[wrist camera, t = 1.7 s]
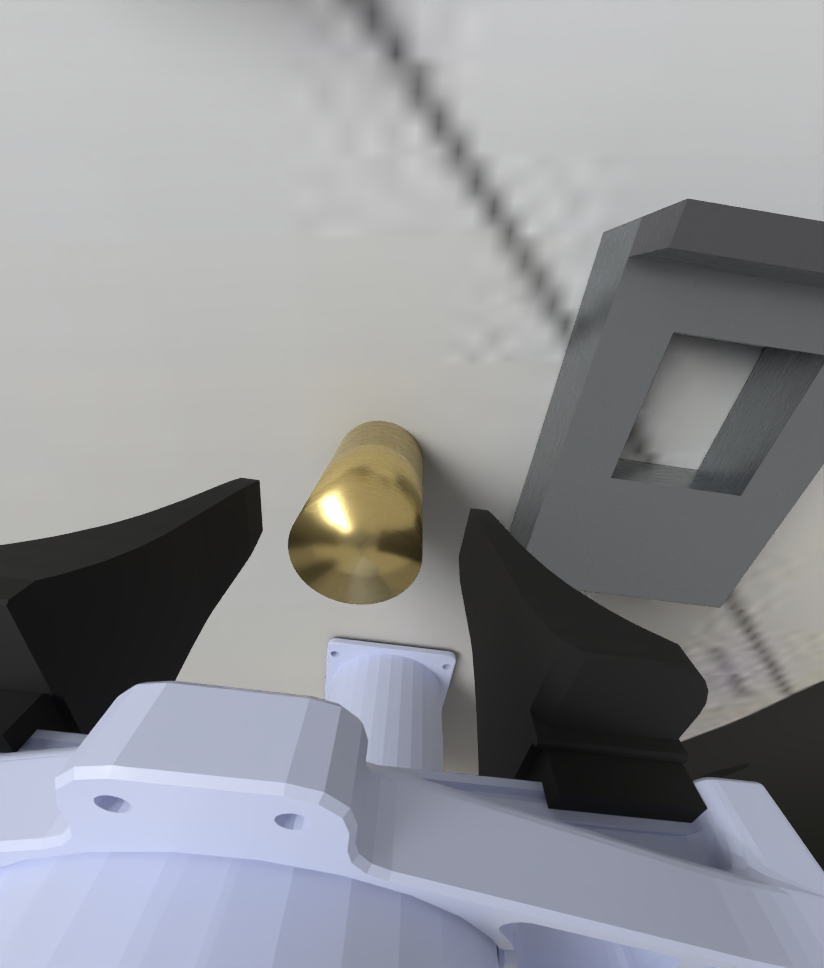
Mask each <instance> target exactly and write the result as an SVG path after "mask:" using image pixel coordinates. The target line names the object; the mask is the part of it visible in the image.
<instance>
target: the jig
mask: <svg viewBox="0 0 824 968" xmlns="http://www.w3.org/2000/svg"><path fill="white" fill-rule="evenodd" d="M673 334H680V335H686V336H693V337H699V338H706V339H712V340H719V341H725V342H731V343H738V344H744V345H751V346H757V347H764V348H765V349H764V351H763V353H762V355H761V357H760V359H759V360H758V362H757V364H756V366H755V368H754V369H753V371H752V373H751V375H750V377H749V379H748V380H747V382H746V384H745V386H744V388H743V389H742V391H741V393H740V395H739V397H738V399H737V400H736V402H735V404H734V406H733V408H732V409H731V411H730V413H729V415H728V417H727V419H726V420H725V422H724V424H723V426H722V428H721V429H720V431H719V433H718V435H717V437H716V439H715V440H714V442H713V444H712V446H711V448H710V449H709V451H708V453H707V455H706V457H705V459H704V460H703V462H702V464H701V466H700V468H699V469H698V470H693V469H686V468H679V467H672V466H665V465H657V464H650V463H643V462H636V461H629V460H622V459H619V457H620V455H621V453H622V450H623V448H624V446H625V444H626V441H627V439H628V437H629V434H630V432H631V430H632V427H633V425H634V423H635V420H636V418H637V416H638V414H639V411H640V409H641V407H642V404H643V402H644V400H645V397H646V395H647V393H648V390H649V388H650V386H651V383H652V381H653V379H654V377H655V374H656V372H657V370H658V367H659V365H660V363H661V360H662V358H663V356H664V353H665V351H666V349H667V346H668V344H669V342H670V340H671V337H672V335H673ZM823 464H824V222H823V221H817V220H811V219H805V218H799V217H793V216H787V215H781V214H775V213H769V212H763V211H758V210H752V209H746V208H740V207H734V206H728V205H722V204H716V203H710V202H704V201H699V200H693V199H686V200H683V201H681V202H678V203H676V204H673V205H671V206H668V207H666V208H663V209H661V210H658V211H656V212H653V213H651V214H648V215H646V216H643V217H641V218H638V219H636V220H633V221H631V222H628V223H626V224H623V225H621V226H618V227H616V228H613V229H611V230H608V231H606V232H604V233H603V236H602V239H601V243H600V246H599V249H598V252H597V255H596V259H595V262H594V265H593V268H592V271H591V274H590V278H589V281H588V284H587V287H586V290H585V294H584V297H583V300H582V303H581V306H580V310H579V313H578V316H577V319H576V322H575V325H574V329H573V332H572V335H571V338H570V341H569V345H568V348H567V351H566V354H565V357H564V360H563V364H562V367H561V370H560V373H559V376H558V380H557V383H556V386H555V389H554V392H553V395H552V399H551V402H550V405H549V408H548V411H547V415H546V418H545V421H544V424H543V427H542V431H541V434H540V437H539V440H538V443H537V446H536V450H535V453H534V456H533V459H532V462H531V466H530V469H529V472H528V475H527V478H526V481H525V485H524V488H523V491H522V494H521V497H520V501H519V504H518V507H517V510H516V513H515V516H514V520H513V523H512V526H511V529H510V532H509V533H510V534H511V535H512V536H513V537H514V538H515V539H516V540H517V541H518V542H519V543H520V544H521V545H522V546H523V547H524V548H525V549H526V550H527V551H528V552H529V553H530V554H532V555H533V556H534V557H535V558H536V559H537V560H538V561H539V562H540V563H542V564H543V565H544V566H545V567H546V568H548V569H549V570H550V571H551V572H553V573H554V574H555V575H557V576H558V577H559V578H560V579H562V580H563V581H564V582H566V583H567V584H569V585H570V586H571V587H573V588H574V589H576V590H583V591H591V592H599V593H607V594H615V595H623V596H631V597H639V598H647V599H655V600H662V601H670V602H678V603H686V604H694V605H702V606H710V607H718V608H720V607H721V606H722V605H723V603H724V602H725V600H726V599H727V598H728V596H729V595H730V593H731V592H732V591H733V589H734V588H735V587H736V585H737V584H738V582H739V581H740V580H741V578H742V577H743V575H744V574H745V573H746V571H747V570H748V568H749V567H750V566H751V564H752V563H753V561H754V560H755V559H756V557H757V556H758V555H759V553H760V552H761V550H762V549H763V548H764V546H765V545H766V543H767V542H768V541H769V539H770V538H771V536H772V535H773V534H774V532H775V531H776V529H777V528H778V527H779V525H780V524H781V522H782V521H783V520H784V518H785V517H786V516H787V514H788V513H789V511H790V510H791V509H792V507H793V506H794V504H795V503H796V502H797V500H798V499H799V497H800V496H801V495H802V493H803V492H804V490H805V489H806V488H807V486H808V485H809V484H810V482H811V481H812V479H813V478H814V477H815V475H816V474H817V472H818V471H819V470H820V468H821V467H822V465H823Z"/></svg>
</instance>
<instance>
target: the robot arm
mask: <svg viewBox="0 0 824 968" xmlns="http://www.w3.org/2000/svg"><path fill="white" fill-rule="evenodd" d="M262 531H263V527H262V512H261V497H260V482H259V480H254V479H246V478H239V479H235V480H232V481H230V482H227V483H224V484H222V485H219V486H217V487H214V488H212V489H210V490H207V491H205V492H202V493H200V494H197V495H195V496H192V497H190V498H187V499H185V500H182V501H179V502H177V503H174V504H171V505H168V506H166V507H163V508H160V509H158V510H155V511H152V512H149V513H146V514H143V515H140V516H136V517H133V518H130V519H126V520H123V521H119V522H116V523H112V524H108V525H104V526H100V527H95V528H91V529H87V530H82V531H78V532H73V533H69V534H64V535H59V536H54V537H49V538H43V539H38V540H31V541H25V542H19V543H13V544H6V545H0V968H824V872H823V870H822V869H821V867H820V866H819V865H818V863H817V862H816V860H815V859H814V857H813V856H812V855H811V853H810V852H809V850H808V849H807V848H806V846H805V845H804V843H803V842H802V840H801V839H800V837H799V836H798V835H797V833H796V832H795V830H794V829H793V828H792V826H791V825H790V823H789V822H788V821H787V819H786V818H785V816H784V815H783V813H782V812H781V810H780V809H779V808H778V806H777V805H776V803H775V802H774V801H773V799H772V798H771V796H770V795H769V793H768V792H767V790H766V789H765V788H764V786H763V785H762V784H759V783H757V782H751V781H742V780H732V779H723V778H714V777H708V778H701V779H697V780H694V781H693V782H692V780H691V778H690V776H689V775H688V773H687V771H686V769H685V767H684V766H683V764H682V763H686V762H687V761H688V754H687V752H686V751H685V749H684V747H683V746H682V744H681V742H680V740H679V737H680V736H681V735H682V734H683V733H684V732H685V730H686V729H687V728H688V727H689V726H690V725H691V723H692V722H693V721H694V720H695V719H696V718H697V716H698V715H699V714H700V712H701V711H702V709H703V707H704V706H705V704H706V701H707V695H708V688H707V685H706V682H705V680H704V678H703V677H702V676H701V674H700V673H699V672H698V670H697V669H696V668H695V666H694V665H693V664H692V662H691V661H690V660H689V658H688V657H687V656H686V654H685V653H684V651H683V650H682V649H681V647H680V646H679V645H678V644H676V643H674V642H672V641H669V640H667V639H665V638H663V637H661V636H659V635H657V634H655V633H652V632H650V631H648V630H646V629H644V628H642V627H640V626H637V625H635V624H634V623H632V622H630V621H628V620H626V619H624V618H622V617H620V616H619V615H617V614H615V613H613V612H611V611H609V610H608V609H606V608H604V607H603V606H601V605H599V604H598V603H596V602H594V601H593V600H591V599H590V598H588V597H587V596H585V595H583V594H582V593H580V592H579V591H577V590H576V589H574V588H573V587H571V586H570V585H569V584H567V583H566V582H564V581H563V580H562V579H560V578H559V577H558V576H557V575H555V574H554V573H553V572H551V571H550V570H549V569H548V568H546V567H545V566H544V565H543V564H542V563H540V562H539V561H538V560H537V559H536V558H535V557H534V556H533V555H532V554H530V553H529V552H528V551H527V550H526V549H525V548H524V547H523V546H522V545H521V544H520V543H519V542H518V541H517V540H516V539H515V538H514V537H513V536H512V535H511V534H510V533H509V532H508V531H507V530H506V529H505V527H504V526H503V525H502V524H501V523H500V522H499V521H498V520H497V519H496V518H495V517H494V516H493V515H492V514H491V513H490V512H489V511H487V510H479V509H472V508H471V510H470V514H469V518H468V522H467V526H466V530H465V534H464V538H463V542H462V546H461V550H460V554H459V569H460V583H461V589H462V595H463V600H464V606H465V611H466V616H467V622H468V627H469V633H470V638H471V645H472V653H473V666H474V679H475V695H476V711H477V733H478V759H479V776H478V775H468V774H459V773H449V772H444V751H443V729H442V708H443V705H444V701H445V698H446V694H447V691H448V687H449V684H450V681H451V677H452V674H453V670H454V667H455V663H456V656H455V654H454V653H452V652H449V651H442V650H433V649H425V648H416V647H408V646H399V645H391V644H382V643H374V642H366V641H357V640H349V639H340V638H333V639H331V640H330V641H329V643H328V647H327V667H326V690H325V700H324V699H320V698H316V697H313V696H306V695H297V694H288V693H279V692H270V691H261V690H252V689H243V688H234V687H225V686H216V685H207V684H198V683H189V682H180V681H175V680H176V678H177V676H178V674H179V672H180V670H181V668H182V666H183V664H184V662H185V660H186V658H187V656H188V654H189V652H190V650H191V648H192V646H193V645H194V643H195V641H196V639H197V637H198V635H199V634H200V632H201V630H202V628H203V626H204V624H205V623H206V621H207V619H208V618H209V616H210V614H211V613H212V611H213V610H214V608H215V607H216V605H217V604H218V602H219V601H220V599H221V598H222V596H223V595H224V594H225V592H226V591H227V589H228V588H229V586H230V585H231V583H232V582H233V581H234V579H235V578H236V576H237V575H238V573H239V572H240V570H241V569H242V567H243V566H244V565H245V563H246V562H247V560H248V559H249V557H250V556H251V554H252V552H253V550H254V548H255V546H256V544H257V542H258V540H259V538H260V535H261V533H262Z"/></svg>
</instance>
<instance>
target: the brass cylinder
mask: <svg viewBox="0 0 824 968" xmlns="http://www.w3.org/2000/svg"><path fill="white" fill-rule="evenodd" d="M422 507H423V461H422V453H421V450H420V447H419V445H418V443H417V442H416V440H415V439H414V438H413V436H412V435H411V434H410V433H408V432H407V431H406V430H405V429H403V428H402V427H400V426H398V425H396V424H393V423H389V422H384V421H372V422H367V423H364V424H361V425H359V426H357V427H356V428H354V429H353V430H351V431H350V432H349V433H348V434H347V435H346V437H345V438H344V440H343V441H342V443H341V445H340V446H339V448H338V450H337V451H336V453H335V455H334V456H333V458H332V460H331V462H330V463H329V465H328V467H327V468H326V470H325V472H324V473H323V475H322V477H321V478H320V480H319V482H318V484H317V485H316V487H315V489H314V490H313V492H312V494H311V495H310V497H309V499H308V501H307V502H306V504H305V506H304V507H303V509H302V511H301V512H300V514H299V516H298V518H297V519H296V521H295V523H294V524H293V526H292V529H291V531H290V535H289V539H288V550H289V556H290V560H291V562H292V564H293V567H294V568H295V570H296V572H297V573H298V575H299V576H300V577H301V578H302V580H303V581H304V582H305V583H306V584H307V585H309V586H310V587H311V588H312V589H314V590H315V591H317V592H318V593H320V594H322V595H324V596H326V597H328V598H331V599H333V600H336V601H340V602H343V603H349V604H374V603H379V602H383V601H386V600H389V599H391V598H393V597H395V596H397V595H399V594H400V593H402V592H403V591H404V590H406V589H407V588H408V587H409V586H410V585H411V584H412V583H413V581H414V580H415V578H416V577H417V575H418V573H419V571H420V567H421V564H422Z"/></svg>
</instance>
